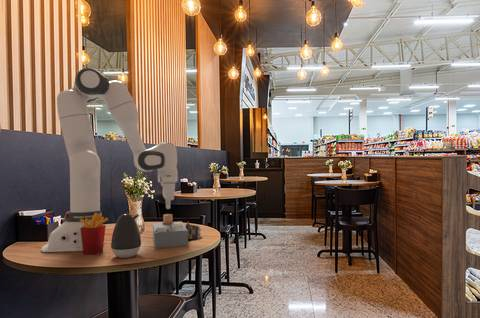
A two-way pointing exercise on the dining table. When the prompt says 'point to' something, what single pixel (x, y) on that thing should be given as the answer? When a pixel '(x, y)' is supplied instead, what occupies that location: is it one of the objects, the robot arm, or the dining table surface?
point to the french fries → (93, 235)
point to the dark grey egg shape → (126, 237)
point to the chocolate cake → (193, 231)
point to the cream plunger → (176, 225)
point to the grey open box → (170, 236)
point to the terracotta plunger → (167, 219)
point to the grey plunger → (161, 229)
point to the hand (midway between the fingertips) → (168, 208)
